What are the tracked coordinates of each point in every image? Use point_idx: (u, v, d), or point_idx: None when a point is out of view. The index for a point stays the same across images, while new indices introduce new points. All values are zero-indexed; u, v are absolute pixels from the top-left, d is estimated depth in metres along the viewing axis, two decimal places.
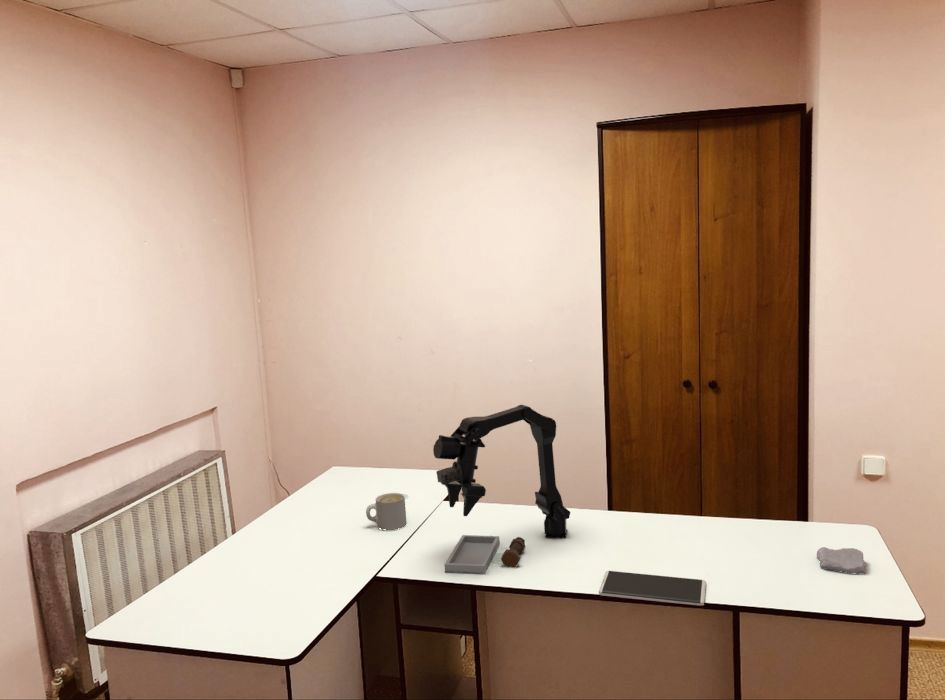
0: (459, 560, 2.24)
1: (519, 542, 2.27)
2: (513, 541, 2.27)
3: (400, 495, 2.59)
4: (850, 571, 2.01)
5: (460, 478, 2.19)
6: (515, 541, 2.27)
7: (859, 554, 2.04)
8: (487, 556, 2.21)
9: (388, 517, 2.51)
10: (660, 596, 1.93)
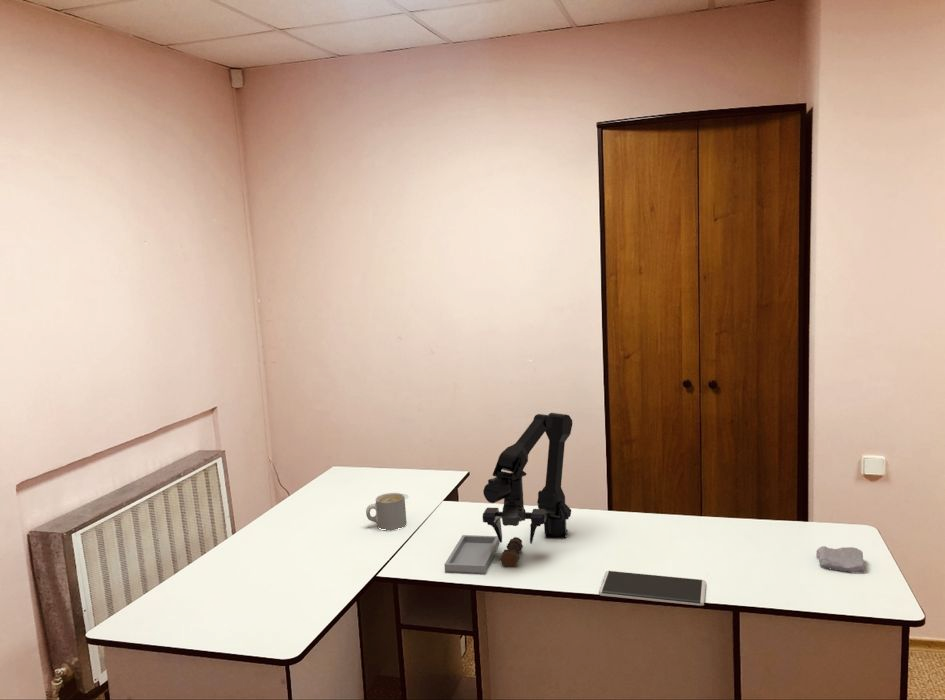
0: (459, 560, 2.24)
1: (517, 542, 2.27)
2: (511, 541, 2.27)
3: (400, 495, 2.59)
4: (850, 570, 2.02)
5: None
6: (513, 541, 2.27)
7: (859, 553, 2.05)
8: (487, 556, 2.21)
9: (388, 517, 2.51)
10: (660, 597, 1.93)
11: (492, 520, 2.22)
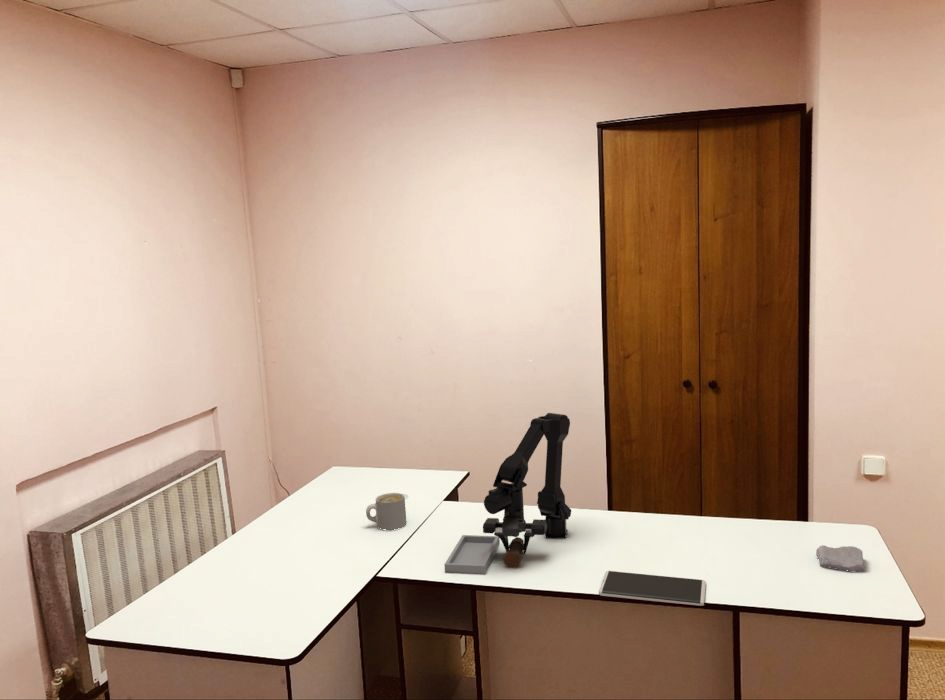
0: (459, 560, 2.24)
1: (519, 542, 2.26)
2: (513, 541, 2.27)
3: (400, 495, 2.59)
4: (850, 569, 2.02)
5: None
6: (515, 541, 2.27)
7: (858, 552, 2.06)
8: (487, 556, 2.21)
9: (388, 517, 2.51)
10: (660, 597, 1.93)
11: (492, 531, 2.23)
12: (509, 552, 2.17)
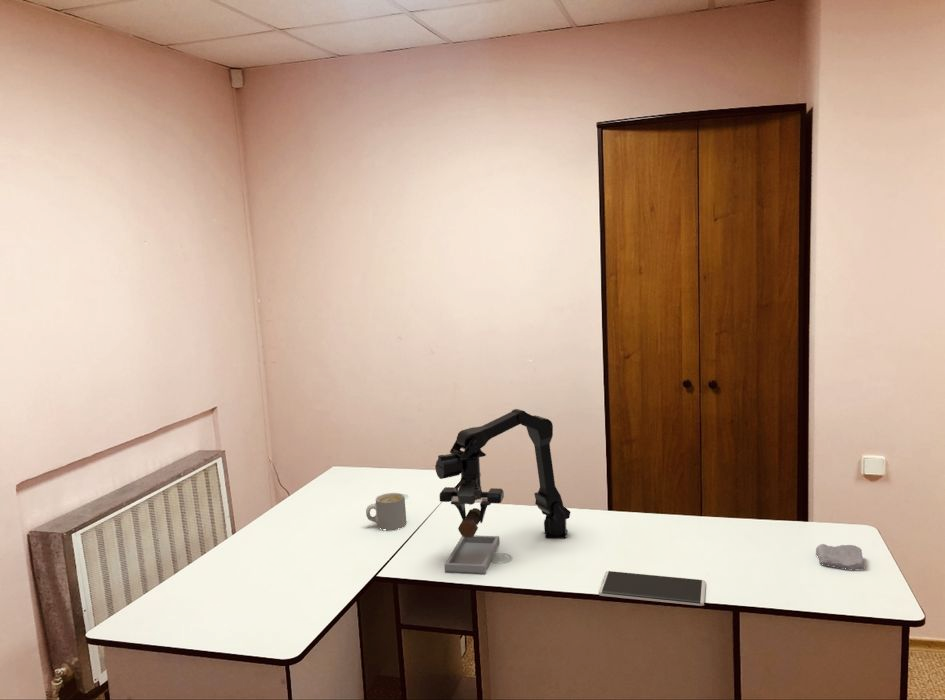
0: (459, 560, 2.24)
1: (476, 513, 2.26)
2: (470, 512, 2.26)
3: (400, 495, 2.59)
4: (850, 567, 2.03)
5: None
6: (472, 512, 2.26)
7: (858, 551, 2.07)
8: (487, 556, 2.21)
9: (388, 517, 2.51)
10: (660, 597, 1.93)
11: (449, 499, 2.22)
12: (465, 521, 2.17)
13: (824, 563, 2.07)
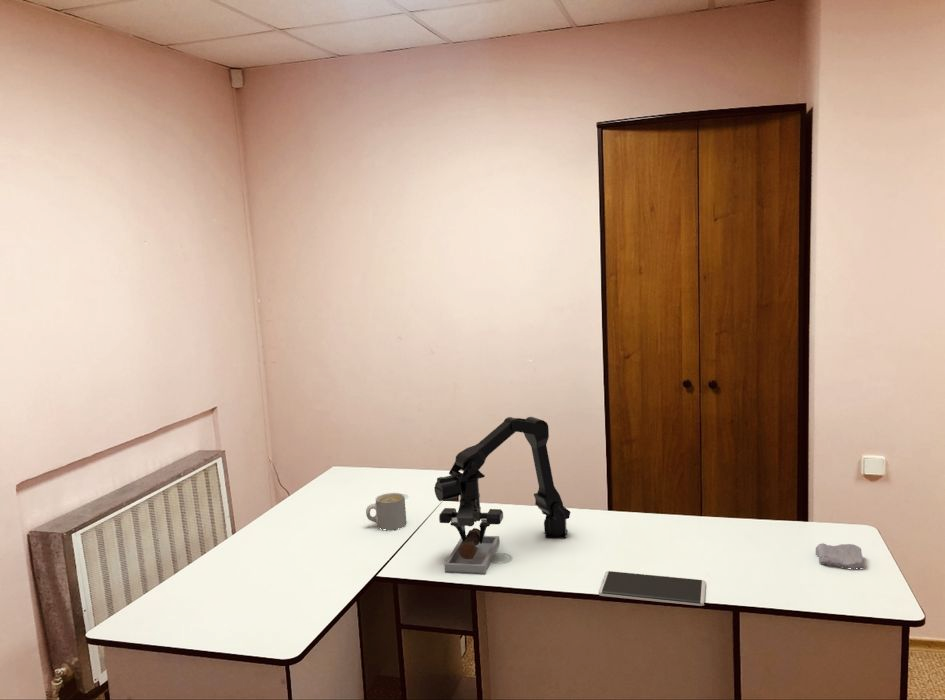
0: (459, 560, 2.24)
1: (476, 533, 2.27)
2: (470, 532, 2.27)
3: (400, 495, 2.59)
4: (849, 566, 2.04)
5: None
6: (472, 532, 2.27)
7: (857, 550, 2.07)
8: (487, 556, 2.21)
9: (388, 517, 2.51)
10: (660, 597, 1.93)
11: (448, 520, 2.23)
12: (464, 543, 2.18)
13: (824, 562, 2.07)
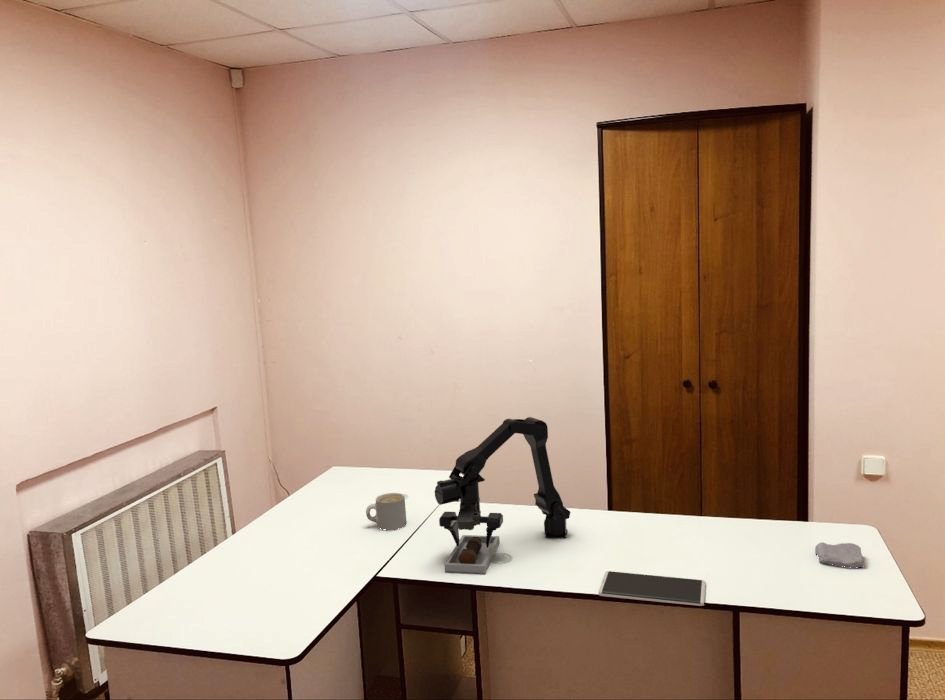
0: None
1: (476, 541, 2.27)
2: (470, 541, 2.28)
3: (400, 495, 2.59)
4: (849, 565, 2.04)
5: None
6: (472, 540, 2.28)
7: (857, 549, 2.08)
8: (487, 556, 2.21)
9: (388, 517, 2.51)
10: (660, 597, 1.93)
11: (448, 524, 2.23)
12: (464, 551, 2.18)
13: (824, 561, 2.08)
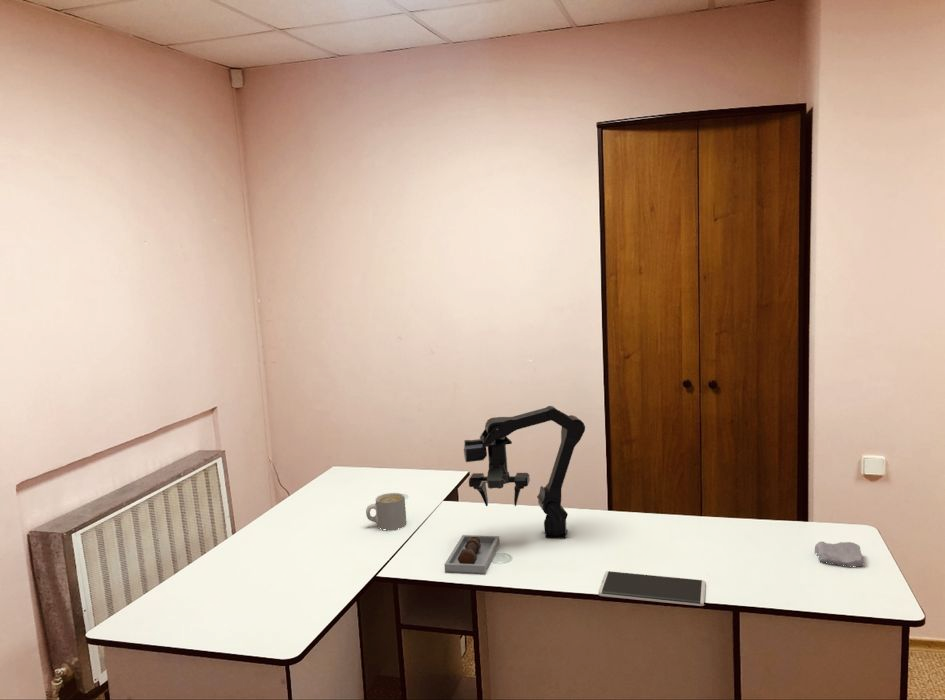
0: None
1: (475, 541, 2.27)
2: (469, 541, 2.28)
3: (400, 495, 2.59)
4: (849, 564, 2.05)
5: None
6: (471, 541, 2.27)
7: (857, 548, 2.09)
8: (487, 556, 2.21)
9: (388, 517, 2.51)
10: (660, 597, 1.93)
11: (478, 484, 2.34)
12: (464, 551, 2.18)
13: (824, 560, 2.08)
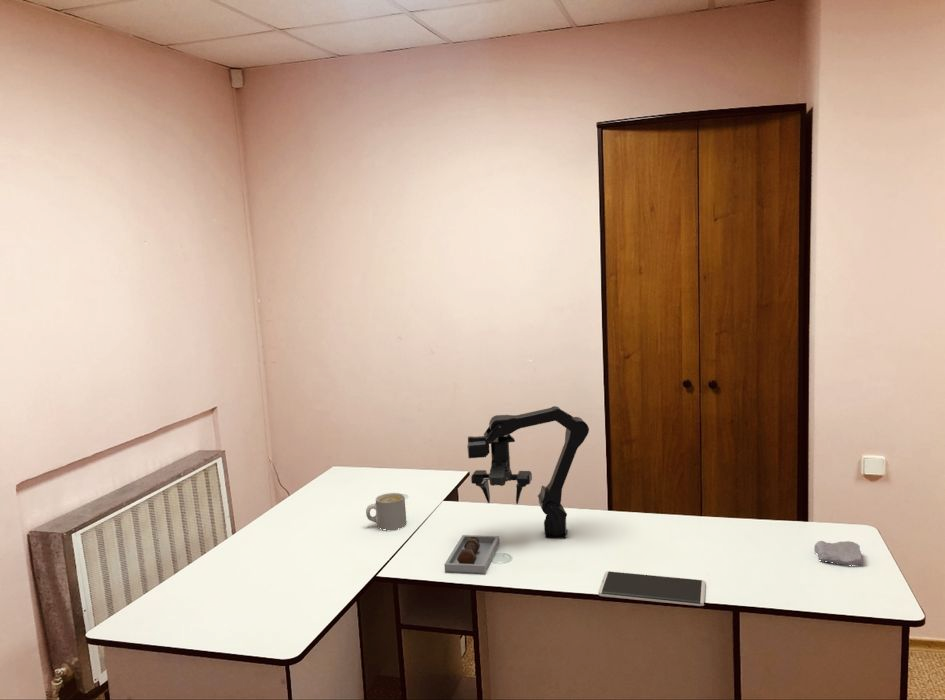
0: None
1: (474, 542, 2.27)
2: (468, 541, 2.28)
3: (400, 495, 2.59)
4: (849, 563, 2.06)
5: None
6: (470, 541, 2.27)
7: (856, 547, 2.09)
8: (487, 556, 2.21)
9: (388, 517, 2.51)
10: (660, 597, 1.93)
11: (480, 481, 2.35)
12: (463, 551, 2.18)
13: (823, 560, 2.09)
